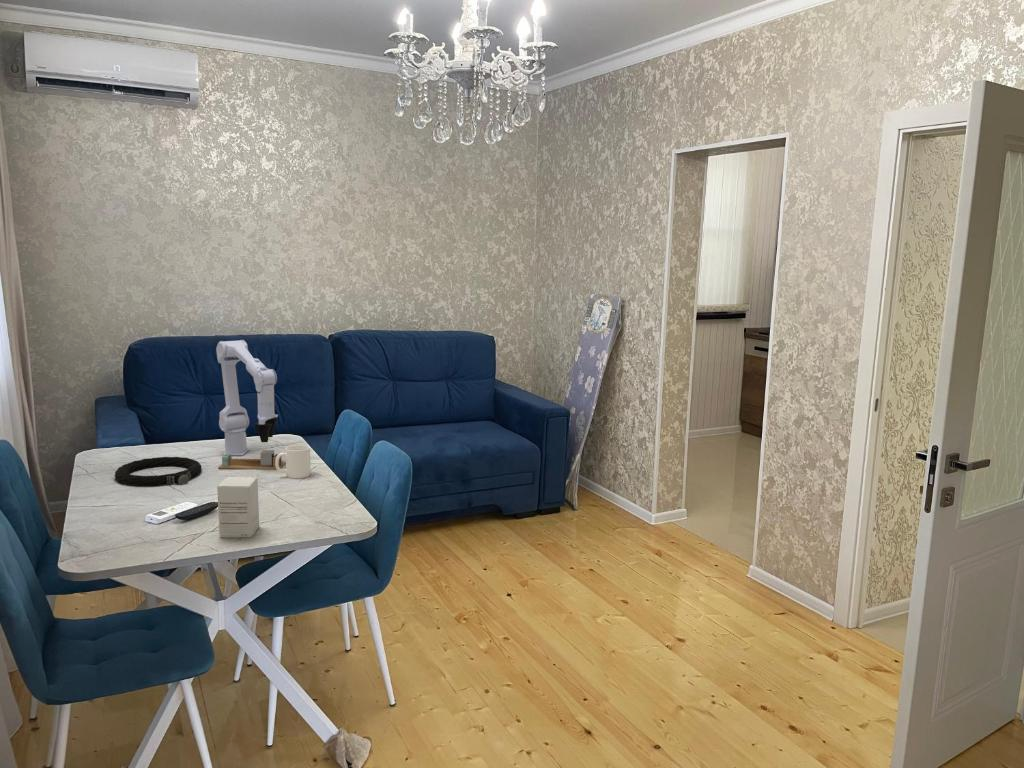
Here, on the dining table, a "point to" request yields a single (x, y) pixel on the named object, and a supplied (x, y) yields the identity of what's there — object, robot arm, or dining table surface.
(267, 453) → the keeper
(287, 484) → the dining table surface
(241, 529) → the supplement box
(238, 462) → the rail
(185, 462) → the cable lock
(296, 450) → the cup
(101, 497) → the dining table surface
